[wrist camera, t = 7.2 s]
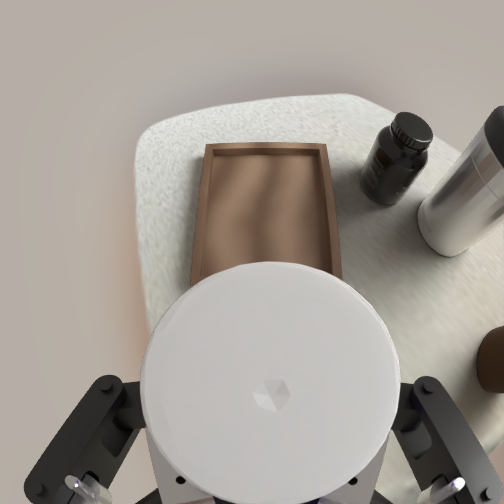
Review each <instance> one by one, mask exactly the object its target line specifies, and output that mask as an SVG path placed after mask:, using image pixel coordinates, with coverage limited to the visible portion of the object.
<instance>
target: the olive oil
mask: <svg viewBox="0 0 504 504" xmlns="http://www.w3.org/2000/svg"><path fill="white" fill-rule="evenodd" d="M477 374H478V379H479V382H480V384H481V386H482V387H483V388H484V389H485V390H486V391H488V392H493V393H504V326H501V327H498V328H495V329H493V330H491V331H490V332H489V333H488V334H487V335H486V337H485V338H484V340H483V342H482V344H481V347H480V350H479V353H478V359H477Z"/></svg>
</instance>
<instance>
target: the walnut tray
mask: <svg viewBox="0 0 504 504" xmlns="http://www.w3.org/2000/svg"><path fill="white" fill-rule="evenodd" d="M267 261H269V262H287V263H296V264H301V265H305V266H309V267H312V268H315V269H318V270H321V271H324V272H326V273H329V274H331V275H333V276H335V277H337V278H338V279H340V280H341V281H342V268H341V256H340V244H339V234H338V225H337V216H336V208H335V200H334V192H333V185H332V178H331V172H330V165H329V159H328V153H327V147H326V144H317V143H287V142H249V143H218V144H206V147H205V154H204V161H203V168H202V175H201V183H200V191H199V199H198V208H197V216H196V226H195V235H194V245H193V256H192V268H191V280H190V285H191V286H192V287H193V286H194V285H196V284H197V283H199V282H200V281H202V280H203V279H205V278H207V277H209V276H211V275H213V274H215V273H218V272H221V271H224V270H227V269H230V268H233V267H236V266H238V265H243V264H250V263H257V262H267Z"/></svg>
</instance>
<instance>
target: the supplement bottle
mask: <svg viewBox="0 0 504 504" xmlns="http://www.w3.org/2000/svg"><path fill="white" fill-rule="evenodd" d="M432 139H433V133H432V130H431V128H430V127H429V125H428V124H427V123H426V122H425V121H424V120H423V119H421V118H420V117H418V116H417V115H415V114H412V113H410V112H409V113H408V112H400V113H398V114H397V115H396V116H395V119H394V121H393V122H392V123H391V125H389V126H386V127H384V128H383V129H382V130H381V131H380V132H379V133H378V135H377V137H376V140H375V142H374V144H373V146H372V149H371V151H370V153H369V155H368V157H367V160H366V162H365V164H364V166H363V169H362V171H361V174H360V182H361V185H362V188H363V189H364V191H365V192H366V194H367V195H368V196H369V197H370V198H372V199H373V200H375V201H377V202H379V203H382V204H394V203H397V202H398V201H400V200H401V199H402V197H403V196H404V195H405V194H406V192H407V191H408V190H409V188H410V187H411V186H412V184H413V183H414V181H415V180H416V179H417V177H418V176H419V175H420V173H421V172H422V170H423V169H424V168H425V166H426V164H427V162H428V151H427V149H428V147H429V144H430V143H431V141H432Z"/></svg>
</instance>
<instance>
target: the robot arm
mask: <svg viewBox="0 0 504 504" xmlns="http://www.w3.org/2000/svg"><path fill="white" fill-rule="evenodd" d="M417 218H418V225H419V228H420V231H421V234H422V236H423V238H424V239H425V241H426V242H427V244H428V245H429V246H430V247H431V248H432V249H433V250H435V251H436V252H437V253H439V254H441V255H444V256H448V257H453V256H456V255H458V254H460V253H462V252H463V251H465V250H466V249H468V248H469V247H471V246H472V245H474V244H475V243H477V242H478V241H480V240H481V239H483V238H484V237H485V236H487V235H488V234H490V233H491V232H492V231H494V230H495V229H497V228H498V227H499V226H501V225H502V224H503V223H504V106H499V107H497V108H496V109H494V111H493V112H492V113H491V115H490V116H489V117H488V119H487V120H486V122H485V123H484V125H483V126H482V128H481V129H480V130H479V132H478V133H477V135H476V136H475V137H474V139H473V140H472V141H471V143H470V144H469V146H468V147H467V148H466V150H465V151H464V152H463V153H462V155H461V156H460V157H459V158H458V160H457V161H456V162H455V163H454V165H453V166H452V167H451V168H450V170H449V171H448V172H447V173H446V175H445V176H444V177H443V178H442V180H441V181H440V182H439V183H438V184H437V185H436V187H435V188H434V189H433V190H432V191H431V192H430V194H429V195H428V196H427V197H426V198H425V199H424V201H423V202H422V203H421V205H420V206H419V209H418V217H417ZM141 428H145V431H146V436H147V441H148V447H149V451H150V456H151V460H152V465H153V469H154V473H155V477H156V481H157V485H158V488H157V489H156V490H154V491H153V492H151V493H150V494H148V495H147V496H146V497H144V498H143V499H141V500H140V501H138V502H137V503H135V504H235V503H232V502H228V501H225V500H222V499H219V498H217V497H215V496H213V495H210V494H208V493H206V492H204V491H202V490H200V489H198V488H197V487H195V486H194V485H192V484H191V483H189V482H188V481H187V480H186V479H184V478H183V477H182V476H181V475H180V474H179V473H178V472H177V471H176V470H175V469H174V468H173V467H172V466H171V465H170V463H169V462H168V461H167V460H166V459H165V457H164V456H163V455H162V454H161V452H160V451H159V450H158V448H157V446H156V444H155V443H154V441H153V439H152V437H151V434H150V432H149V430H148V428H147V425H146V422H145V419H144V416H143V411H142V404H141V396H140V381H138V382H129V383H122V381H121V380H120V378H118V377H117V376H114V375H105V376H102V377H100V378H98V379H97V380H96V381H95V382H94V383H93V384H92V386H91V387H90V388H89V390H88V391H87V393H86V394H85V395H84V397H83V398H82V399H81V401H80V402H79V403H78V405H77V406H76V408H75V409H74V410H73V411H72V413H71V414H70V416H69V417H68V418H67V420H66V421H65V423H64V424H63V426H62V427H61V428H60V430H59V431H58V433H57V434H56V435H55V437H54V438H53V440H52V441H51V443H50V444H49V445H48V447H47V448H46V450H45V451H44V453H43V454H42V456H41V457H40V459H39V460H38V462H37V463H36V465H35V466H34V468H33V469H32V471H31V472H30V474H29V475H28V477H27V478H26V480H25V483H24V492H25V495H26V497H27V498H28V499H29V501H30V502H31V503H33V504H112V496H111V494H110V492H109V491H108V488H109V486H110V484H111V482H112V481H113V479H114V477H115V475H116V473H117V471H118V470H119V468H120V466H121V464H122V462H123V460H124V459H125V457H126V455H127V453H128V451H129V450H130V448H131V446H132V444H133V442H134V441H135V439H136V437H137V435H138V433H139V431H140V429H141ZM391 429H392V430H393V431H394V433H395V436H396V438H397V440H398V442H399V444H400V446H401V448H402V450H403V452H404V454H405V456H406V458H407V461H408V463H409V465H410V467H411V469H412V471H413V473H414V476H415V478H416V480H417V482H418V484H419V487H420V489H421V491H422V492H421V494H420V495H419V497H418V500H417V504H499V503H500V501H501V499H502V497H503V492H504V488H503V484H502V482H501V480H500V478H499V476H498V475H497V473H496V471H495V469H494V467H493V466H492V464H491V462H490V460H489V458H488V457H487V455H486V453H485V451H484V450H483V448H482V446H481V445H480V443H479V441H478V440H477V438H476V436H475V435H474V433H473V431H472V430H471V428H470V427H469V425H468V423H467V422H466V420H465V419H464V417H463V416H462V414H461V412H460V411H459V409H458V408H457V406H456V405H455V403H454V402H453V400H452V399H451V397H450V396H449V394H448V393H447V391H446V390H445V389H444V387H443V386H442V384H441V383H440V382H439V381H438V380H437V379H435V378H433V377H430V376H423V377H420V378H418V379H417V380H416V381H415V383H414V384H408V383H400V393H399V401H398V409H397V413H396V416H395V419H394V421H393V424H392V426H391ZM389 433H390V431H389ZM389 433H388V435H387V437H386V440H385V442H384V443H383V445H382V446H381V448H380V449H379V451H378V452H377V454H376V455H375V456H374V458H373V459H372V460H371V461H370V462H369V463H368V465H367V466H366V467H365V468H364V469H363V470H362V471H360V472H359V473H358V474H357V475H356V476H354V477H353V478H352V479H351V480H349V481H348V482H347V483H346V484H344V485H343V486H341V487H339V488H338V489H336V490H334V491H332V492H331V493H329V494H327V495H325V496H322V497H319V498H317V499H314V500H311V501H308V502H305V503H301V504H393V503H391V502H390V501H389V500H387V499H386V498H385V497H384V496H382V495H381V494H380V493H378V492H377V491H376V490H375V485H376V482H377V479H378V476H379V472H380V469H381V465H382V462H383V458H384V454H385V450H386V446H387V442H388V437H389Z"/></svg>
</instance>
